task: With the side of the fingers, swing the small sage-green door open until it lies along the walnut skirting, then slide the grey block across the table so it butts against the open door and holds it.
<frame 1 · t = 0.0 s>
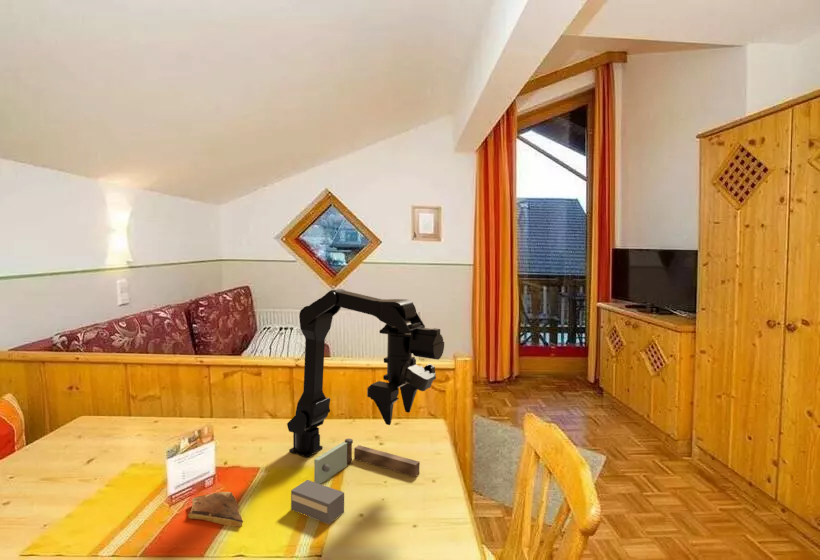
hand: (398, 418, 111), 15 cm above the table, fingers open, 9 cm apart
hinge post: (348, 463, 119), on the table
door: (333, 463, 112), point 3 cm above the table, hinge at 0.0°
shard: (224, 512, 98), on the table
skirting: (385, 466, 118), on the table
grey block: (317, 511, 98), on the table
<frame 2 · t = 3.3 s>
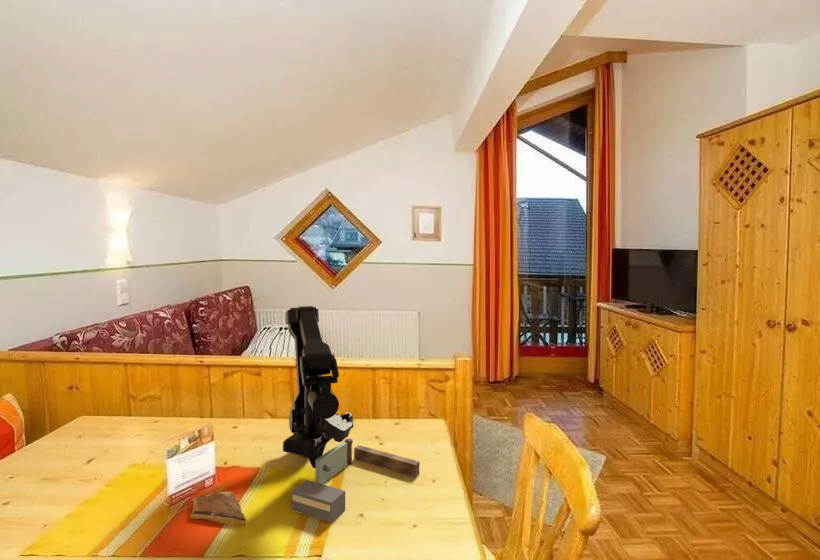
hand: (315, 467, 111), 3 cm above the table, fingers closed
door: (334, 463, 112), point 3 cm above the table, hinge at 1.5°, touching gripper
everything else where it was.
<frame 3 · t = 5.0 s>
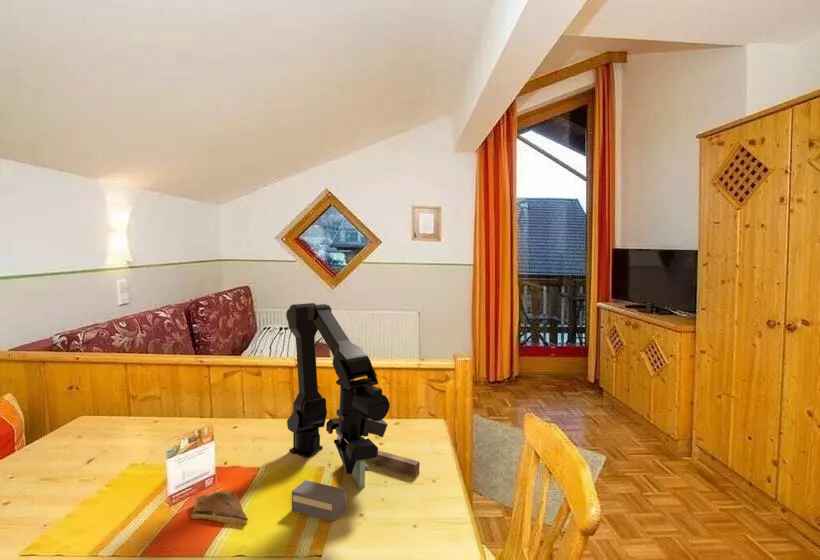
hand: (349, 473, 109), 3 cm above the table, fingers closed
door: (358, 463, 113), point 3 cm above the table, hinge at 50.7°, touching gripper
everything else where it was.
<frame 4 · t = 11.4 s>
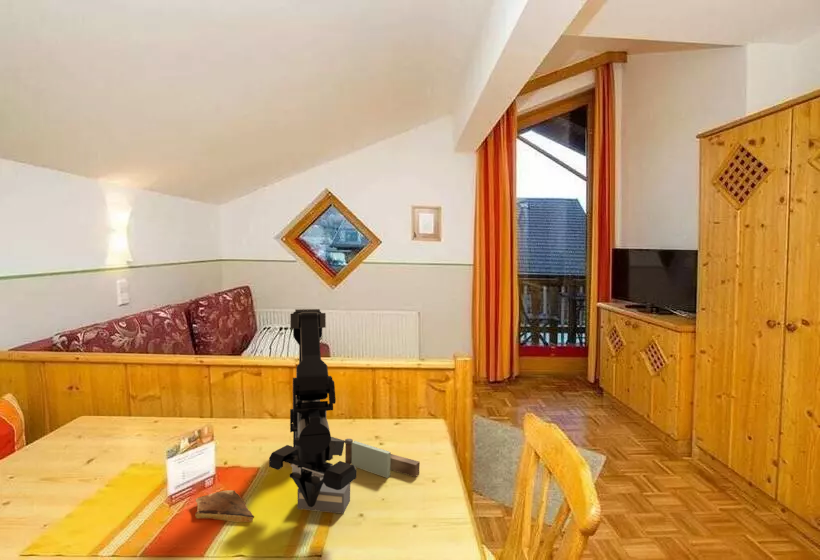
hand: (311, 505, 96), 2 cm above the table, fingers closed
door: (372, 458, 116), point 3 cm above the table, hinge at 86.3°
grey block: (324, 505, 100), on the table
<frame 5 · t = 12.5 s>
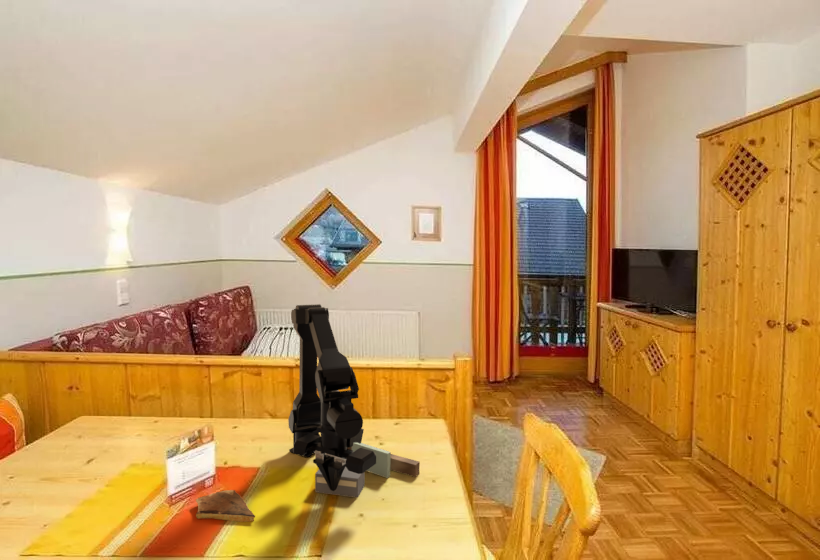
hand: (333, 489, 102), 2 cm above the table, fingers closed
grey block: (340, 489, 107), on the table
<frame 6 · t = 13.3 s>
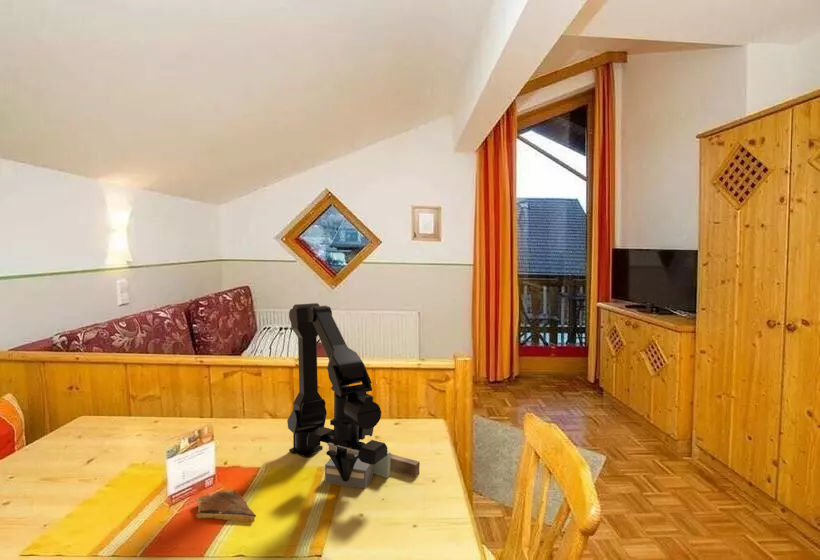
hand: (346, 480, 106), 2 cm above the table, fingers closed
grey block: (348, 481, 111), on the table, touching gripper
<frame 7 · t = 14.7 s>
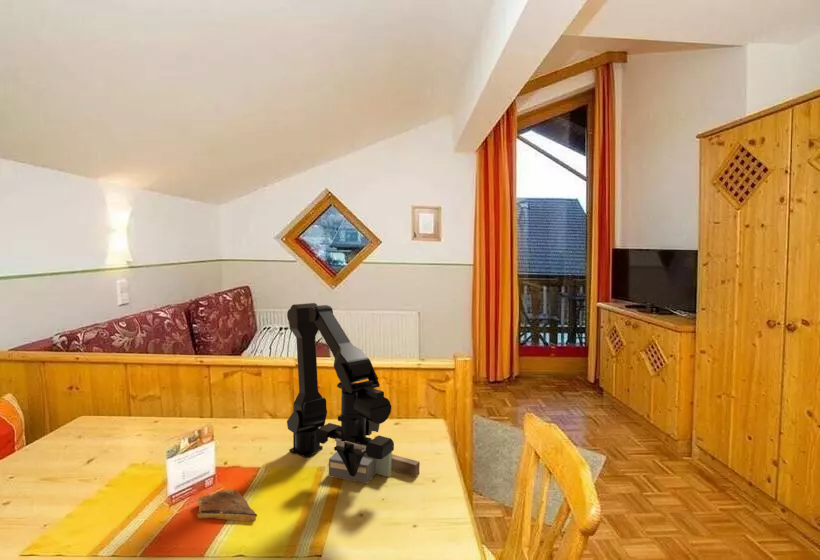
hand: (353, 475, 109), 2 cm above the table, fingers closed
door: (372, 457, 116), point 3 cm above the table, hinge at 88.5°
grey block: (352, 475, 113), on the table
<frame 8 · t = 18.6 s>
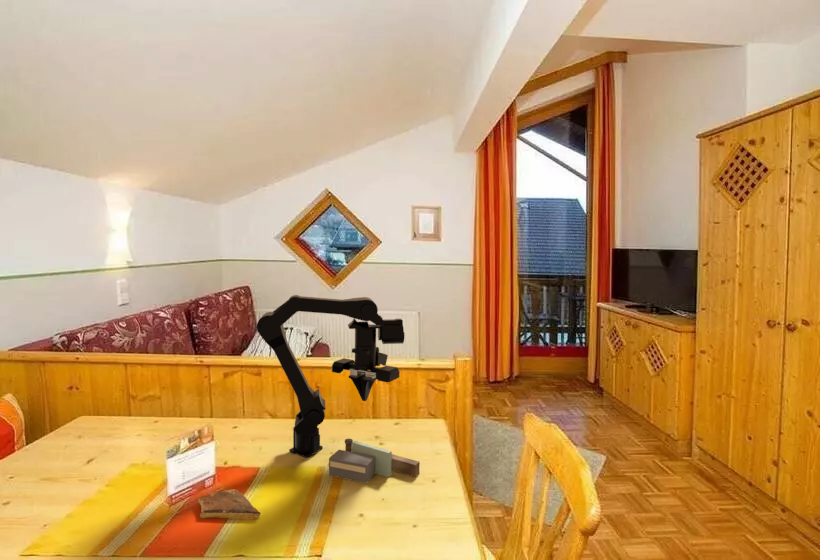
hand: (364, 400, 128), 13 cm above the table, fingers closed
at the end: door at +88° (first picture: +0°); grey block inside the target area (3.5 cm from its centre), on the table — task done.
